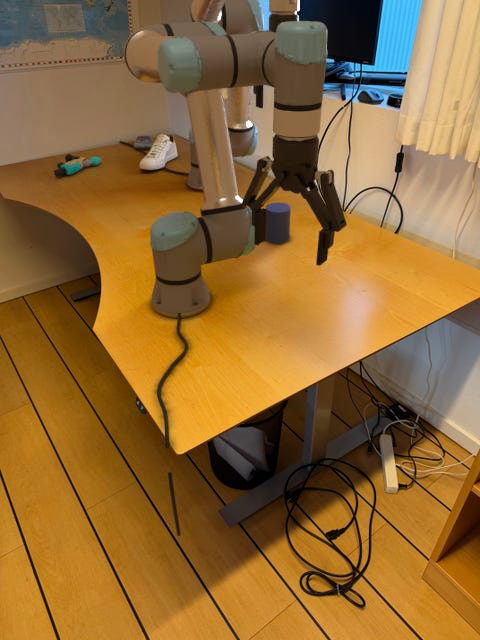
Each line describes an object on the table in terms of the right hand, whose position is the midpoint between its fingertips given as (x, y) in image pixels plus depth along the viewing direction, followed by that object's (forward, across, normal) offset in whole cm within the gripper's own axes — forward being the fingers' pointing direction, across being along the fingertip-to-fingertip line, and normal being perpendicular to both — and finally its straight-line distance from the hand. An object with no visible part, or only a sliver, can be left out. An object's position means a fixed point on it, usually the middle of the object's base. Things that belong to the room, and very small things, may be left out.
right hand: (280, 104), depth 131 cm
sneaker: (+40, -8, +91) cm, 100 cm away
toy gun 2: (+40, -2, +118) cm, 125 cm away
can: (+41, 0, 0) cm, 41 cm away
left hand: (+13, -30, -54) cm, 63 cm away
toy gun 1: (+40, -46, +102) cm, 119 cm away
